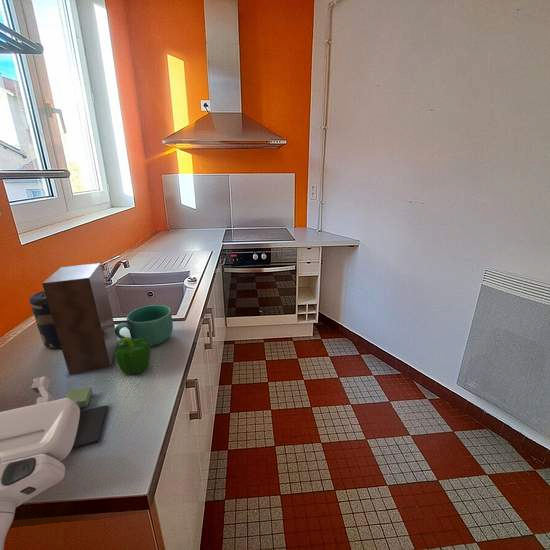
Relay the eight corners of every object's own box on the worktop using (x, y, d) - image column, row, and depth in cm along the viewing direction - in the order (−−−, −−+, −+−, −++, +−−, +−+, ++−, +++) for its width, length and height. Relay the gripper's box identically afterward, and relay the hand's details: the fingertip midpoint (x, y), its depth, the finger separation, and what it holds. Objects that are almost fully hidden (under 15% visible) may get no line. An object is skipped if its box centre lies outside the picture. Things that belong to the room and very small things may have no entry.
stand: (69, 374, 80) (41, 283, 72) (82, 347, 93) (60, 267, 84) (110, 366, 83) (89, 277, 75) (118, 341, 96) (100, 263, 87)
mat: (38, 457, 57) (37, 455, 56) (56, 418, 66) (55, 416, 65) (98, 442, 59) (97, 439, 59) (107, 407, 68) (106, 404, 68)
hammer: (67, 458, 55) (63, 449, 55) (35, 467, 54) (31, 457, 53) (92, 391, 73) (90, 383, 72) (68, 396, 71) (66, 388, 70)
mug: (167, 326, 104) (163, 301, 101) (180, 341, 95) (176, 313, 92) (115, 342, 95) (108, 315, 92) (123, 361, 85) (116, 331, 82)
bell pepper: (156, 358, 86) (150, 327, 83) (148, 376, 78) (142, 343, 75) (125, 361, 85) (118, 330, 82) (114, 380, 77) (106, 346, 74)
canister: (86, 336, 99) (73, 285, 94) (61, 352, 91) (45, 297, 85) (63, 333, 102) (48, 283, 96) (36, 348, 93) (18, 294, 87)
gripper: (-121, 529, 35) (-70, 411, 44) (77, 474, 41) (87, 379, 50) (-171, 525, 31) (-104, 394, 40) (59, 463, 37) (74, 361, 45)
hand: (4, 385), depth 45 cm, fingers open, 8 cm apart
